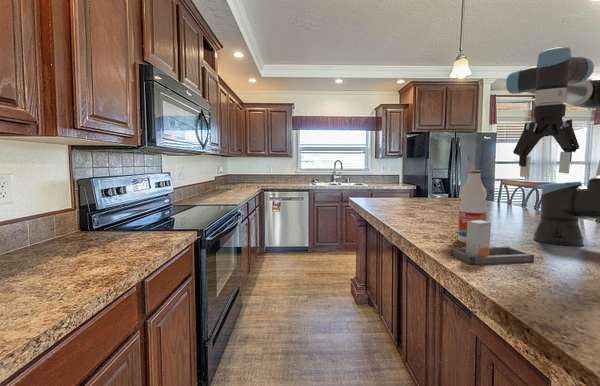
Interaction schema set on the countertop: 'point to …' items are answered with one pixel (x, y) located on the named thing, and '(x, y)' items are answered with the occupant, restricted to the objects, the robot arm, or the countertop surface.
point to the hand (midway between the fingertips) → (544, 175)
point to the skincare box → (478, 238)
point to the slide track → (514, 257)
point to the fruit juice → (471, 203)
